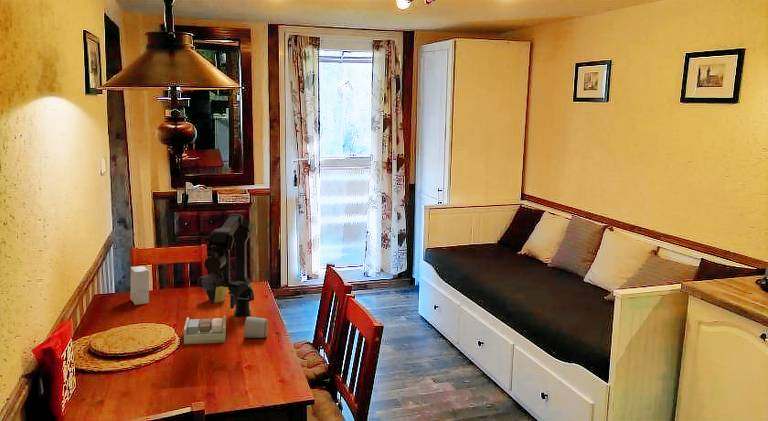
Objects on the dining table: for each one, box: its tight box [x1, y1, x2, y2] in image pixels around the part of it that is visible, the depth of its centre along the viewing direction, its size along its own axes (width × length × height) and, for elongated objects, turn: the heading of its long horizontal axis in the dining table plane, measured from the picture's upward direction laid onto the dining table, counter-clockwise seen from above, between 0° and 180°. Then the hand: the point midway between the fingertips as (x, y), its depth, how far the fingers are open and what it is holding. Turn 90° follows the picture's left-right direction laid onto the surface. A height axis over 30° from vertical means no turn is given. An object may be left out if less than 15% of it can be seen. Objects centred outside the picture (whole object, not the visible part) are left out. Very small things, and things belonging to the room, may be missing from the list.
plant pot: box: [208, 286, 228, 304], centre depth 262 cm, size 10×10×10 cm
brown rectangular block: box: [200, 318, 212, 333], centre depth 221 cm, size 8×4×2 cm, turn 13°
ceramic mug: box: [243, 316, 269, 339], centre depth 225 cm, size 11×8×8 cm
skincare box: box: [129, 265, 150, 306], centre depth 257 cm, size 8×6×15 cm
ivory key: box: [211, 317, 224, 332], centre depth 222 cm, size 8×4×2 cm, turn 13°
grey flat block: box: [188, 318, 201, 333], centre depth 220 cm, size 8×4×2 cm, turn 13°
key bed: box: [183, 315, 227, 345], centre depth 221 cm, size 13×14×6 cm
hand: (222, 306), depth 218 cm, fingers open, 9 cm apart
